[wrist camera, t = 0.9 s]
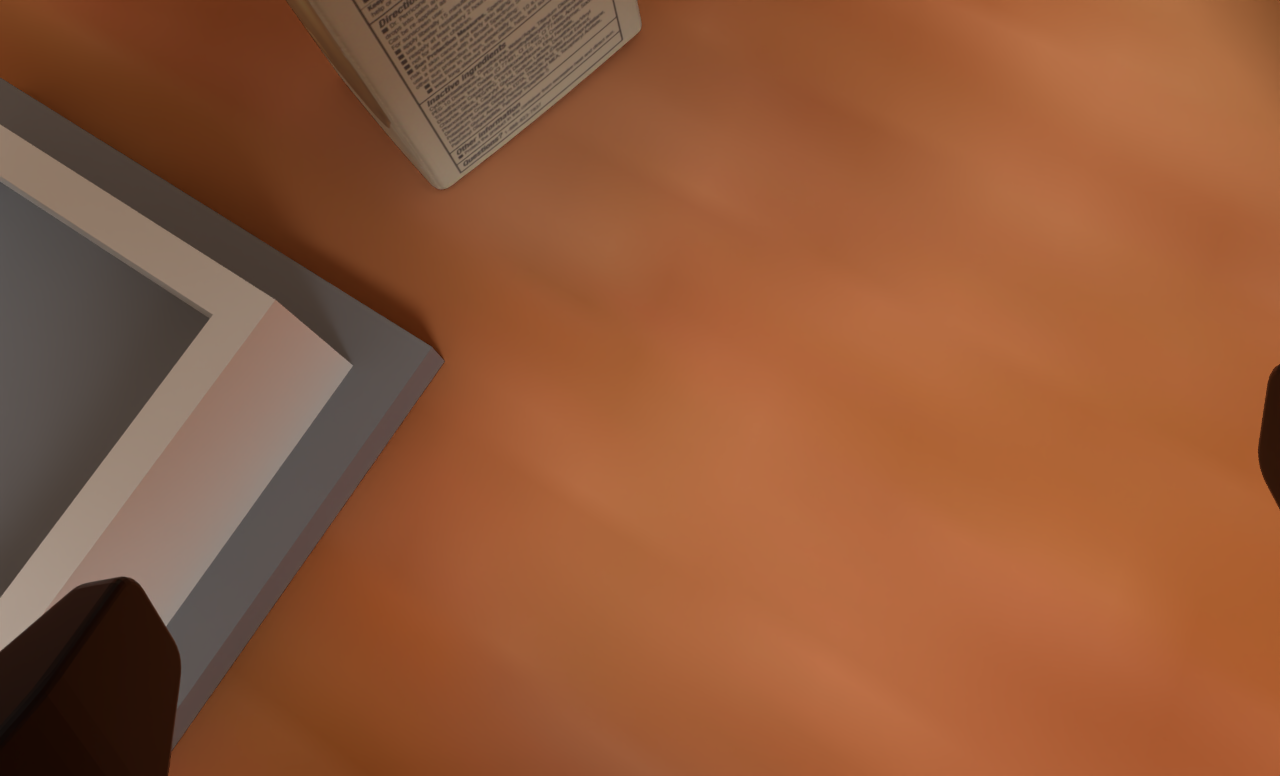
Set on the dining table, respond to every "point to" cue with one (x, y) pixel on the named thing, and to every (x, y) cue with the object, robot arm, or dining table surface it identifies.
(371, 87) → the skincare box
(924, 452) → the dining table surface
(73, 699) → the robot arm
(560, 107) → the dining table surface
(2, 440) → the holder
